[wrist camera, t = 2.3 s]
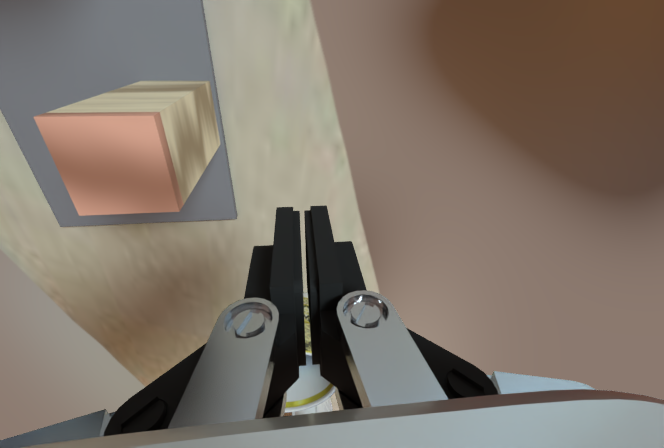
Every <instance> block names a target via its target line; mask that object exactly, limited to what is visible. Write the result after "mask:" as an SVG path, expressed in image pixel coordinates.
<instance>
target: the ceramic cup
mask: <svg viewBox="0 0 664 448" xmlns="http://www.w3.org/2000/svg"><path fill="white" fill-rule="evenodd" d="M303 301H304V324H305V347H306V366H299V378H298V380H297V381H296V382H295V383H294V384H293V385H292V386H291V387H290V388H289V389H288V390H287V401H286V407H285V413H288V412H297V411H302V410H306V409H309V408H312V407H314V406H317V405H319V404H320V403H322V402H324V401H325V400H327V399H328V398H329V397H330V396H331V395H332V394H333V393H334V392H335V388H334V385H332V384H331V383H330V382H329V381H327V380H326V379H325V378H323V377H322V376H320V364H317V365H312V351H311V336H310V320H309V305H308V294H307V293H303Z"/></svg>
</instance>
